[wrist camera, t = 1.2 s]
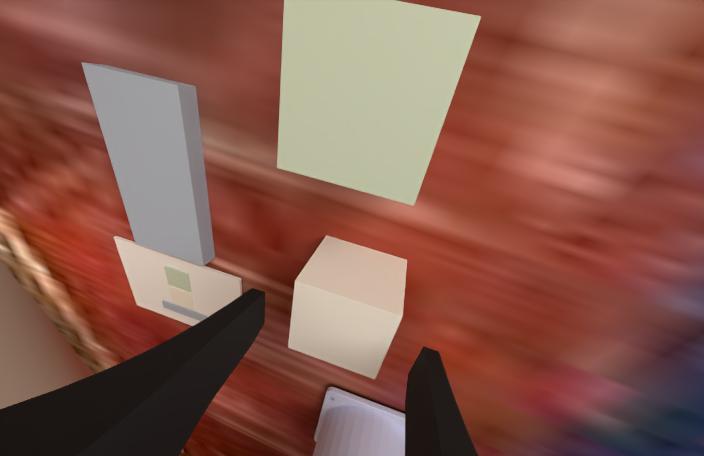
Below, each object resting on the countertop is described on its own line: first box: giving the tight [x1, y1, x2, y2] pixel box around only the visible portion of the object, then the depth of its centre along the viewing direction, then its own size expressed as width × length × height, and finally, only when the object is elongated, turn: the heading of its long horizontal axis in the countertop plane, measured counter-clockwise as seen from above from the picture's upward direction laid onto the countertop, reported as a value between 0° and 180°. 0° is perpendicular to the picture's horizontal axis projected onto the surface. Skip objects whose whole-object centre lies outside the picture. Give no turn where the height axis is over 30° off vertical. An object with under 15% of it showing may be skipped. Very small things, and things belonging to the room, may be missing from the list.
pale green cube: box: [277, 0, 481, 206], centre depth 8 cm, size 4×4×4 cm
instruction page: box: [114, 236, 242, 326], centre depth 19 cm, size 7×10×1 cm
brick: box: [288, 235, 407, 379], centre depth 13 cm, size 4×4×4 cm
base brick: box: [81, 62, 215, 266], centre depth 14 cm, size 10×5×2 cm, turn 169°
